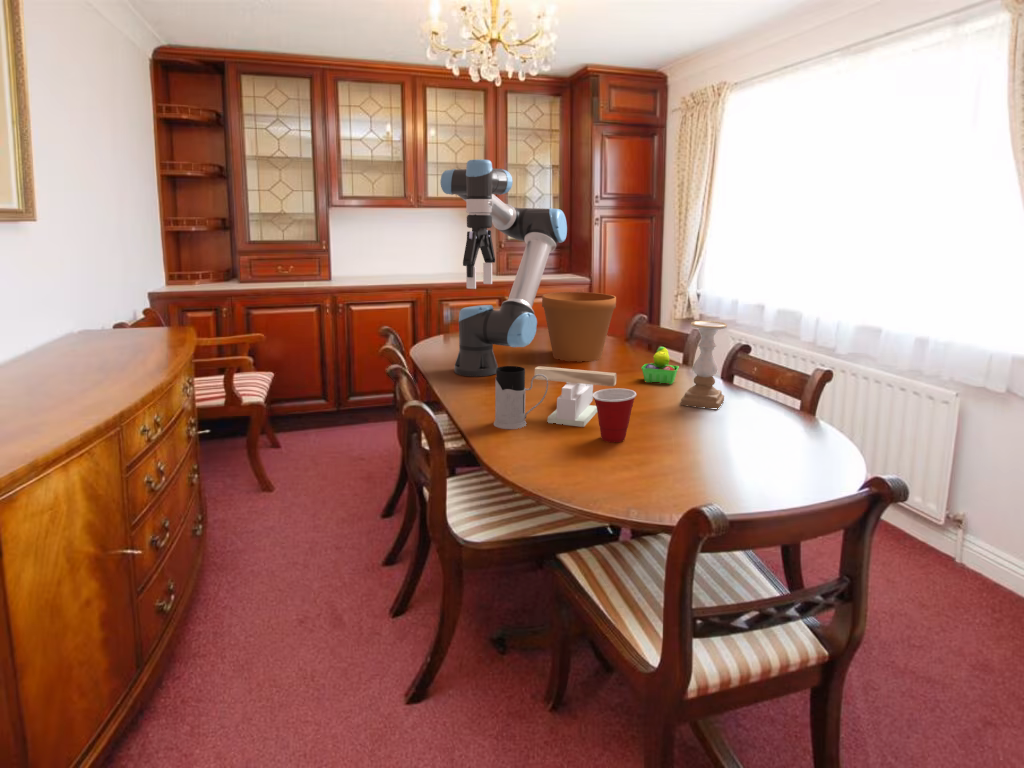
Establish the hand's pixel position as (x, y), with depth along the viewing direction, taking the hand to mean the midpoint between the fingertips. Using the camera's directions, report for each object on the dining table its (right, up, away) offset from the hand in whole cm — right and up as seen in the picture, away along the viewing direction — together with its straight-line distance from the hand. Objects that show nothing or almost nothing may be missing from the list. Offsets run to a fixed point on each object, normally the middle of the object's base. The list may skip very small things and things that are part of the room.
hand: (479, 286), depth 211 cm
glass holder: (+12, -41, -27) cm, 50 cm away
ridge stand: (+27, -39, -20) cm, 51 cm away
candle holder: (+66, -36, -5) cm, 76 cm away
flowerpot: (+35, -19, +58) cm, 71 cm away
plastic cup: (+35, -44, -38) cm, 68 cm away
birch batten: (+27, -29, -23) cm, 46 cm away
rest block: (+30, -36, -7) cm, 47 cm away
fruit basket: (+59, -29, +21) cm, 69 cm away
